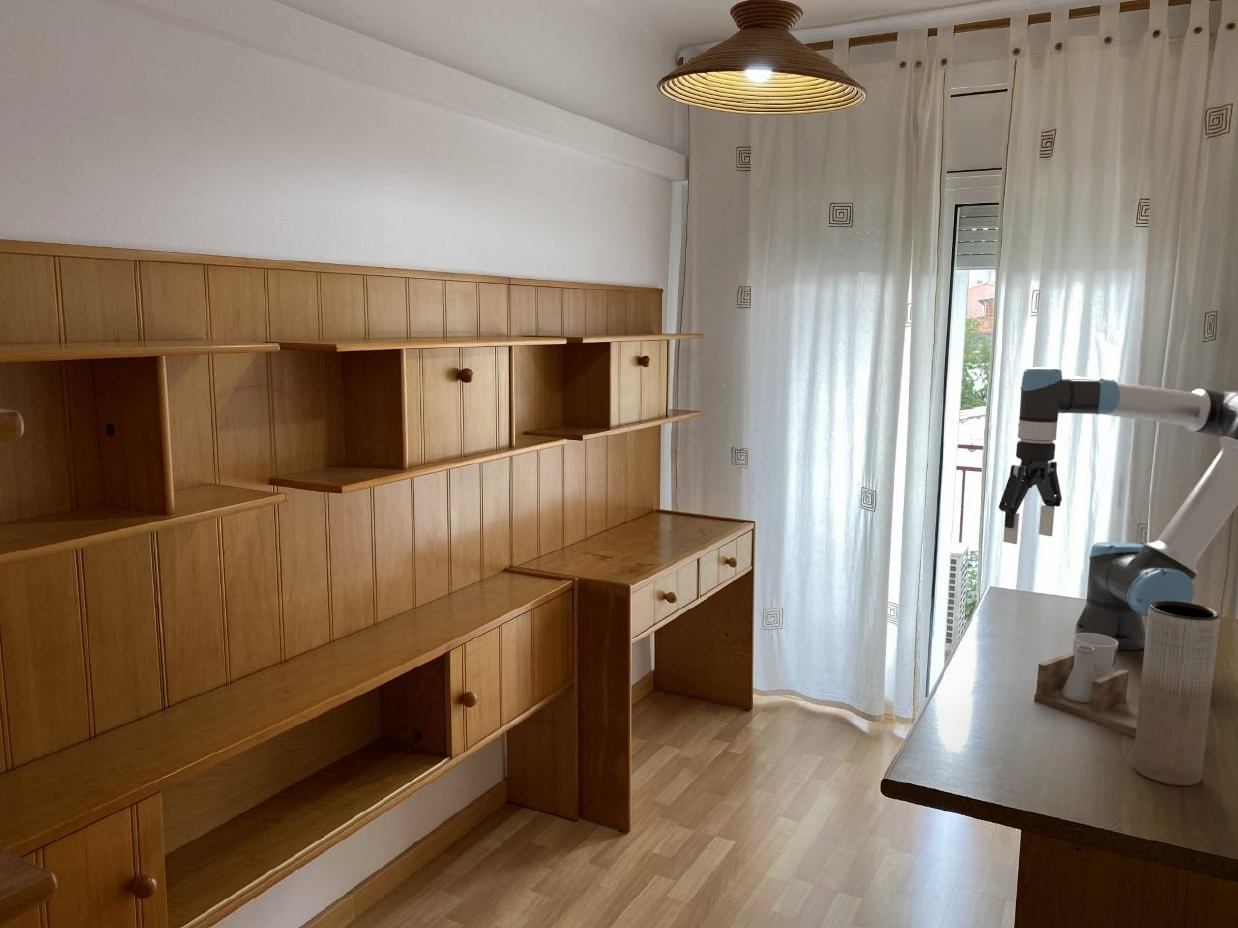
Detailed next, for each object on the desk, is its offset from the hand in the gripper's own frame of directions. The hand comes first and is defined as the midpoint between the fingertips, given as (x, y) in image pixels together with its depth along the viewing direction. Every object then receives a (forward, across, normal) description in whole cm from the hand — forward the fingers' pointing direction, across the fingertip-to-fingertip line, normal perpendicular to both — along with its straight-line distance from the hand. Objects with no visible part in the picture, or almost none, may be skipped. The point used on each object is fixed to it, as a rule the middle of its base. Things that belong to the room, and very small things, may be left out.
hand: (1028, 539), depth 210 cm
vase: (+27, +30, +45) cm, 60 cm away
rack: (+27, +14, +27) cm, 40 cm away
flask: (+25, +14, +22) cm, 36 cm away
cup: (+27, +3, +18) cm, 33 cm away
